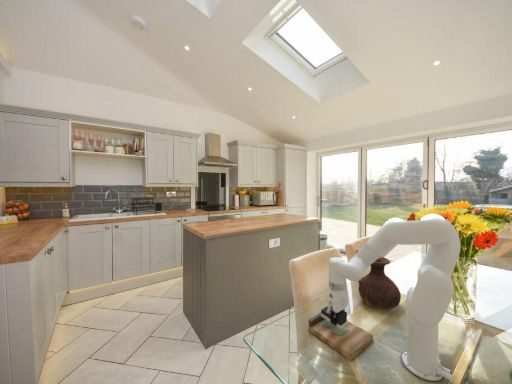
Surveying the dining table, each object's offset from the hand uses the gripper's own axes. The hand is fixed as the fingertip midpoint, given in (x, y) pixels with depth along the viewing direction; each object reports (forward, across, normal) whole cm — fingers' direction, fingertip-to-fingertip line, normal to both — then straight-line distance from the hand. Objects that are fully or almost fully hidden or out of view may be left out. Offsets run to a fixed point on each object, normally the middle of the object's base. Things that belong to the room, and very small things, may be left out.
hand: (337, 321), depth 102 cm
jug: (+6, +40, 0) cm, 41 cm away
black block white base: (+1, 0, +2) cm, 2 cm away
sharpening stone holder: (+6, 0, -1) cm, 6 cm away
